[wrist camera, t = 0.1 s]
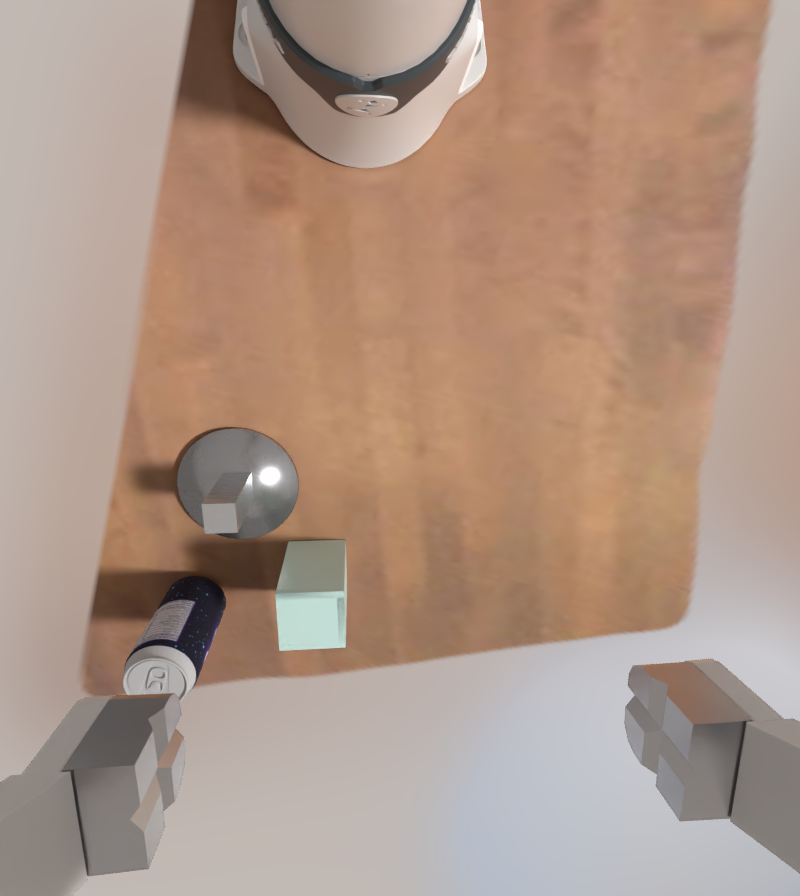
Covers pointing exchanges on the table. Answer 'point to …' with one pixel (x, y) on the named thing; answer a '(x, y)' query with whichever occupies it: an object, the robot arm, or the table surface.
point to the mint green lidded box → (312, 595)
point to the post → (237, 483)
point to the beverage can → (176, 639)
